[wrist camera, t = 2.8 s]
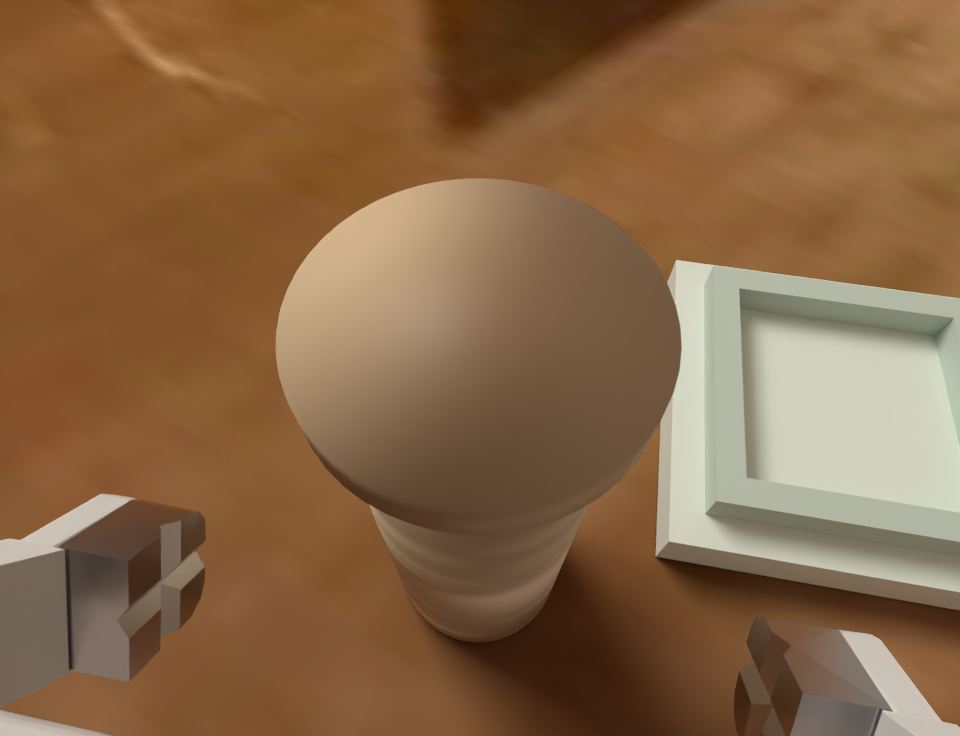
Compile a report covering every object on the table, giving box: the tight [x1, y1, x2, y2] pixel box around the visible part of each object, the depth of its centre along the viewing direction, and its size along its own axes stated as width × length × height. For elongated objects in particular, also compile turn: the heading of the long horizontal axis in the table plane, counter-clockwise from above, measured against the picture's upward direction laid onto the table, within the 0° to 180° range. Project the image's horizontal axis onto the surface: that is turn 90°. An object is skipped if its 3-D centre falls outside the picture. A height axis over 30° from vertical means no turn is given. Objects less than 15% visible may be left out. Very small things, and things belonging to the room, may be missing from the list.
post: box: [276, 179, 682, 643], centre depth 13 cm, size 5×5×12 cm
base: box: [656, 260, 960, 610], centre depth 19 cm, size 10×10×2 cm
